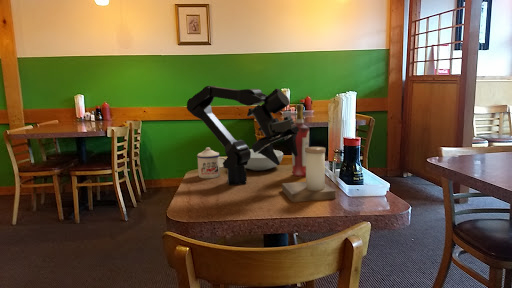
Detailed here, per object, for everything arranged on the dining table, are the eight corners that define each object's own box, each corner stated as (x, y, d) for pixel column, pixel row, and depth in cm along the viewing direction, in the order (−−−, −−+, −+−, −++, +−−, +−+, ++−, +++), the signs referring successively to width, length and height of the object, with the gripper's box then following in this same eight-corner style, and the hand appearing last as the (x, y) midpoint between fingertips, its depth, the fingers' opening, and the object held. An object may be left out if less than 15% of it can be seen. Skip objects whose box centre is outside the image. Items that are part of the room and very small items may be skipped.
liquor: (293, 172, 151) (292, 104, 147) (311, 173, 149) (311, 104, 144) (288, 177, 144) (287, 105, 140) (307, 178, 142) (306, 105, 137)
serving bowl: (277, 174, 149) (277, 158, 148) (228, 172, 155) (228, 156, 154) (287, 163, 169) (287, 149, 168) (244, 162, 175) (243, 148, 174)
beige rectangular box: (292, 202, 114) (292, 194, 113) (282, 190, 126) (282, 183, 126) (335, 198, 116) (335, 190, 116) (321, 187, 129) (321, 180, 128)
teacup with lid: (199, 179, 145) (198, 150, 143) (196, 174, 153) (195, 146, 151) (229, 176, 148) (228, 148, 146) (225, 171, 157) (223, 144, 155)
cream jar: (316, 192, 115) (315, 151, 113) (301, 188, 120) (300, 148, 118) (329, 188, 119) (329, 148, 117) (314, 184, 124) (314, 146, 122)
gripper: (258, 116, 116) (283, 160, 113) (297, 103, 127) (319, 142, 125) (241, 132, 124) (264, 172, 122) (279, 118, 136) (300, 155, 134)
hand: (288, 160), depth 125 cm, fingers open, 9 cm apart
